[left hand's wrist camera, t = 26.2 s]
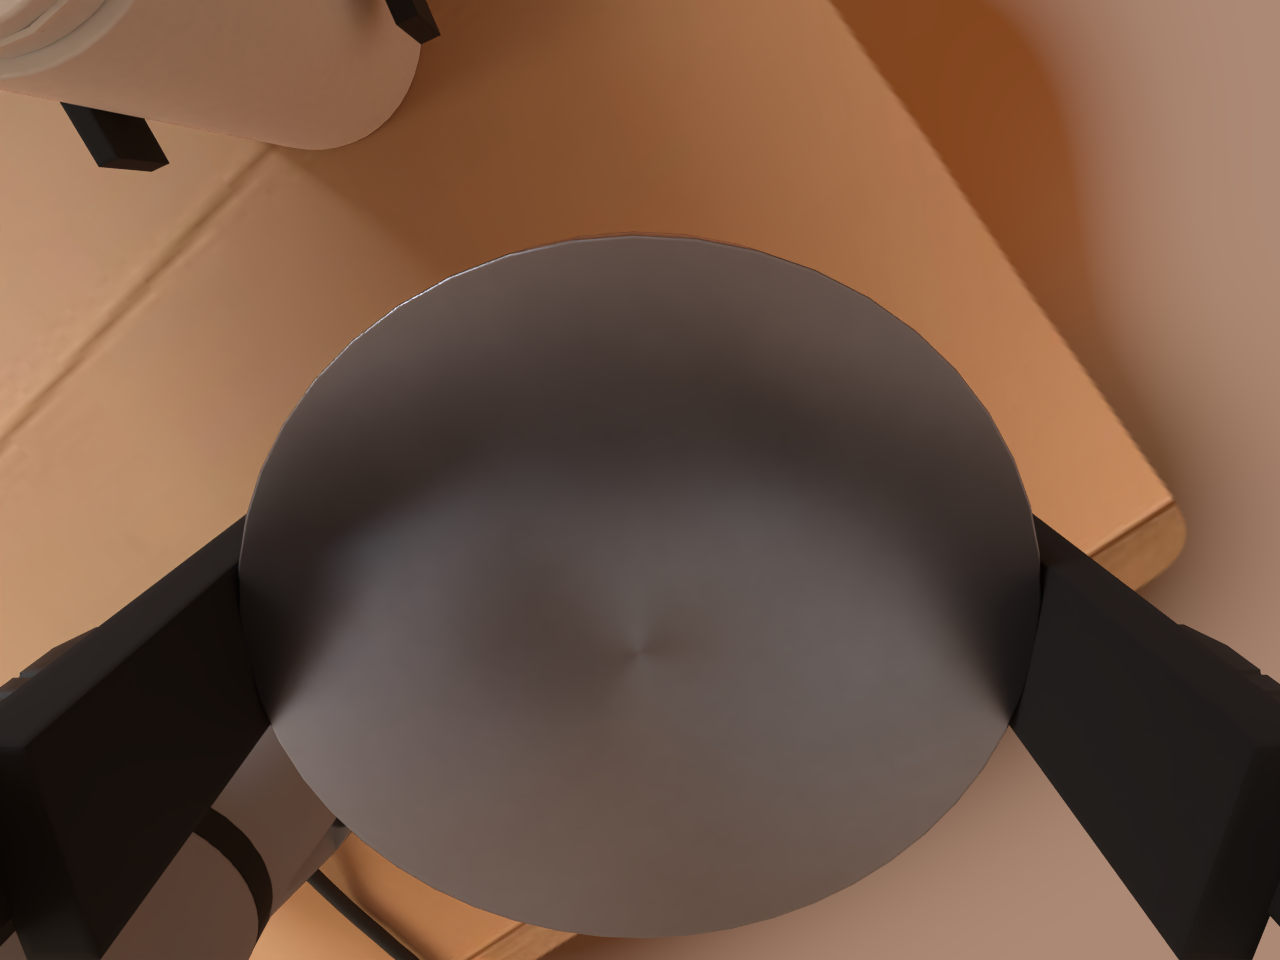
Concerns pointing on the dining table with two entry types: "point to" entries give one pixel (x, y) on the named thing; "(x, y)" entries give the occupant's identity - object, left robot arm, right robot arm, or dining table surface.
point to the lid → (639, 586)
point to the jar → (216, 63)
